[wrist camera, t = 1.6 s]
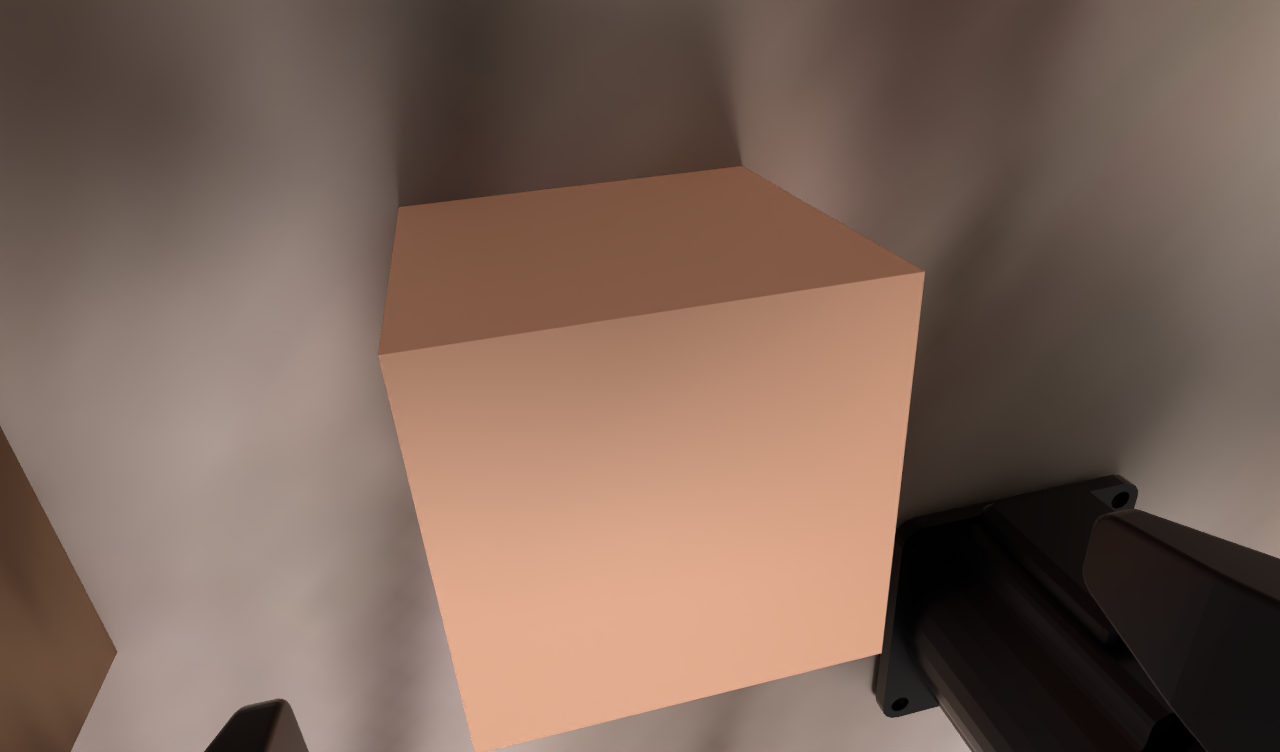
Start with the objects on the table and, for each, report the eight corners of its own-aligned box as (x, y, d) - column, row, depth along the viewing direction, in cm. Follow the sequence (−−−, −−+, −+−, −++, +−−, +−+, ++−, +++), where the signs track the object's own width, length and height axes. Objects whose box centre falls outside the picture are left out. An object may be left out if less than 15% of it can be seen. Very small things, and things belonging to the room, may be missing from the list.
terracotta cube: (741, 445, 17) (881, 652, 12) (460, 498, 16) (474, 754, 10) (740, 165, 14) (924, 271, 9) (398, 205, 13) (377, 354, 8)
